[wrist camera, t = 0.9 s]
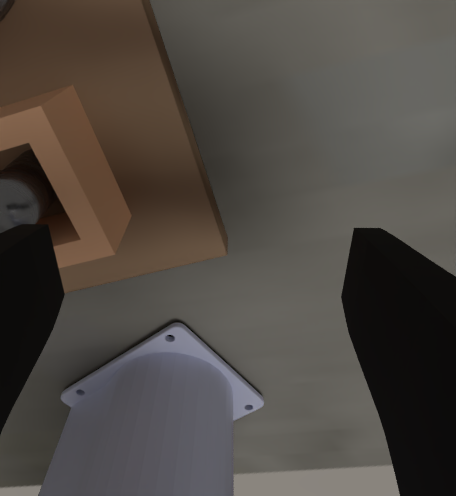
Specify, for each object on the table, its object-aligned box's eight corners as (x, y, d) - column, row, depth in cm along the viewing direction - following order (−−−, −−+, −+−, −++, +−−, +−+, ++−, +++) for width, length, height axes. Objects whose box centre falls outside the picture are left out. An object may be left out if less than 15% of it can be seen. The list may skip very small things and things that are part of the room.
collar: (131, 215, 18) (115, 254, 15) (16, 245, 19) (-18, 287, 16) (72, 84, 15) (40, 105, 13) (-60, 126, 16) (-115, 153, 14)
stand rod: (76, 189, 17) (43, 232, 14) (31, 201, 18) (-9, 246, 15) (52, 142, 16) (12, 178, 13) (5, 156, 17) (-44, 194, 14)
